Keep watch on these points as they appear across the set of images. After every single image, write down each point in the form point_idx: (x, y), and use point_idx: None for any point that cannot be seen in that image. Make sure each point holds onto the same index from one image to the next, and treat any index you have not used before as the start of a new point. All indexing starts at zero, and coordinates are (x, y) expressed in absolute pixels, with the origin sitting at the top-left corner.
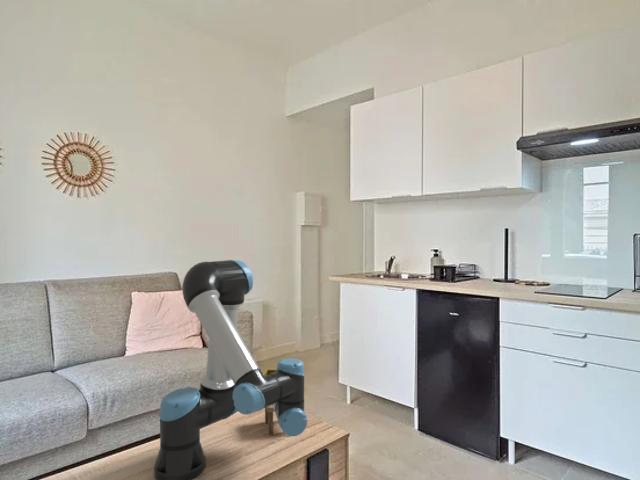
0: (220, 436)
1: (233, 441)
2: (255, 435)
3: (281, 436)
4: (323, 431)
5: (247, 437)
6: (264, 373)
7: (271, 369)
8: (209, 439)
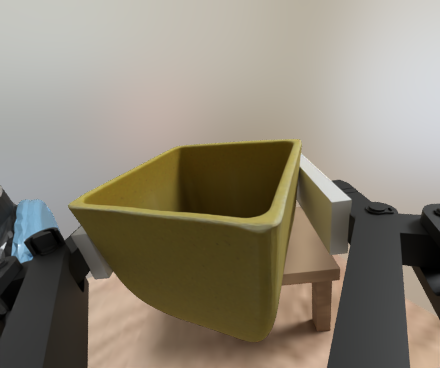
0: (120, 318)
1: (134, 355)
2: (199, 330)
3: (274, 354)
4: (430, 349)
5: (176, 338)
6: (136, 168)
7: (197, 144)
8: (91, 329)
